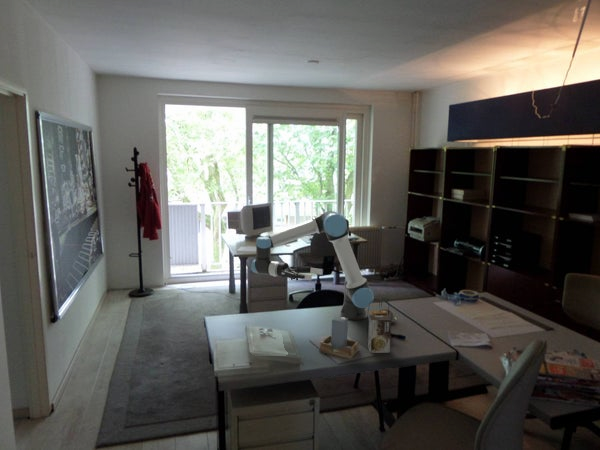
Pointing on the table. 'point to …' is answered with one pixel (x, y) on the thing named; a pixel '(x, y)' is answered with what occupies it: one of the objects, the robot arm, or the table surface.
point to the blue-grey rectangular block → (339, 332)
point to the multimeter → (378, 313)
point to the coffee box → (379, 334)
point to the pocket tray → (339, 348)
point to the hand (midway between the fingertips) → (317, 274)
